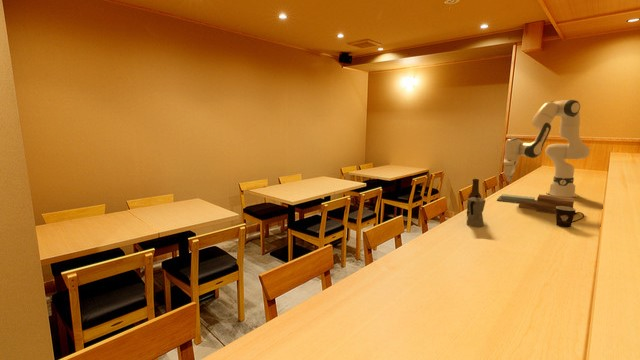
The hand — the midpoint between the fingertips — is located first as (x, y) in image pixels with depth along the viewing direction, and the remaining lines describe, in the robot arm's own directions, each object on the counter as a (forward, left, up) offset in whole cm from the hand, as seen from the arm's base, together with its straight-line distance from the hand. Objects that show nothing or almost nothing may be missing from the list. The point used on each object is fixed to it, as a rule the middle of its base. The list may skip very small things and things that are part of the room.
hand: (509, 179), depth 223 cm
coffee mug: (+46, +35, -15) cm, 59 cm away
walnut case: (+16, +23, -15) cm, 32 cm away
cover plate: (+1, +6, -14) cm, 15 cm away
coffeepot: (+71, -6, -15) cm, 72 cm away
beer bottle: (+56, -10, -15) cm, 58 cm away
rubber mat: (+1, +7, -15) cm, 17 cm away
